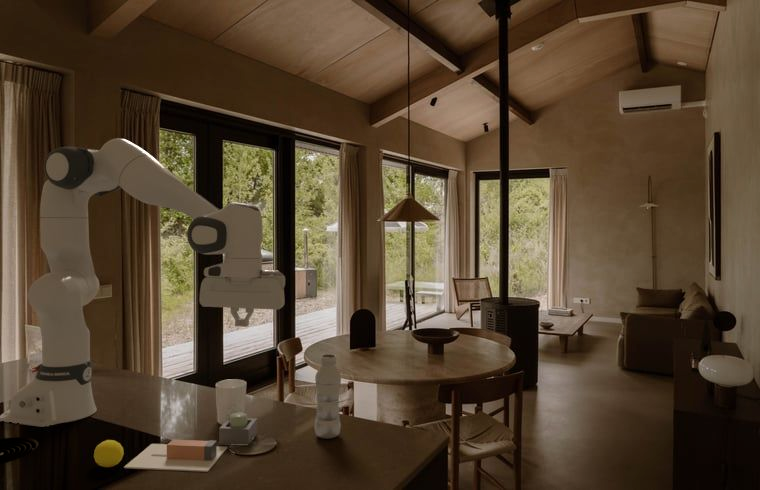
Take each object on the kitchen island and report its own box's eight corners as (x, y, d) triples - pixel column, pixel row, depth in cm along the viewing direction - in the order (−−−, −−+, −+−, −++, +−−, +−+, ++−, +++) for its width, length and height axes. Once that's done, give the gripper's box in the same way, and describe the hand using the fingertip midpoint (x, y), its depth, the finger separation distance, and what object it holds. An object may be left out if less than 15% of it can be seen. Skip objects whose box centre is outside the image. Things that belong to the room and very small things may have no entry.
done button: (227, 439, 125) (227, 418, 125) (233, 432, 129) (233, 412, 129) (244, 439, 125) (244, 418, 125) (249, 433, 129) (249, 412, 129)
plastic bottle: (320, 443, 126) (321, 360, 125) (310, 433, 132) (311, 354, 131) (344, 439, 129) (346, 358, 128) (334, 429, 135) (335, 352, 134)
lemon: (129, 465, 114) (132, 441, 113) (107, 476, 109) (110, 451, 108) (106, 455, 116) (109, 432, 116) (84, 465, 112) (86, 440, 111)
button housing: (219, 445, 124) (219, 428, 124) (229, 433, 131) (229, 417, 131) (248, 446, 124) (248, 429, 123) (256, 434, 131) (257, 418, 130)
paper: (124, 468, 111) (124, 466, 111) (151, 444, 123) (151, 443, 123) (207, 471, 110) (207, 470, 110) (227, 448, 122) (227, 446, 122)
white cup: (237, 427, 135) (238, 388, 135) (209, 424, 137) (209, 386, 136) (251, 417, 143) (251, 380, 142) (224, 414, 144) (224, 378, 144)
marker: (166, 458, 115) (166, 444, 115) (172, 452, 119) (172, 438, 118) (211, 460, 115) (211, 446, 115) (216, 454, 118) (216, 440, 118)
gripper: (288, 270, 130) (287, 325, 131) (207, 267, 132) (206, 322, 132) (282, 272, 124) (280, 330, 125) (197, 268, 125) (196, 326, 126)
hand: (241, 326), depth 128 cm, fingers closed
